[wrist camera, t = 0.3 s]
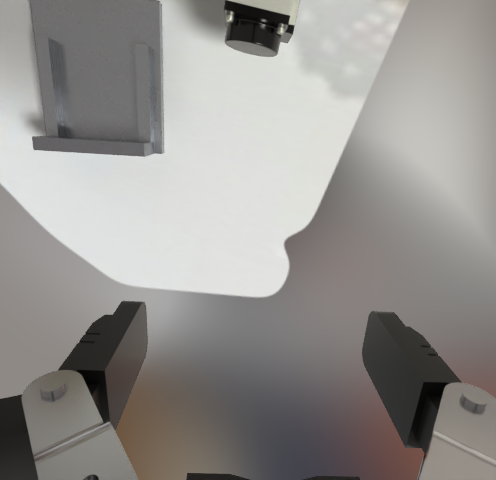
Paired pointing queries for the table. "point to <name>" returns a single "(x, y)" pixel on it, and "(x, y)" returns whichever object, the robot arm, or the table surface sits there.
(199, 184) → the table surface
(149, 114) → the bracket
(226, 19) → the pneumatic valve
